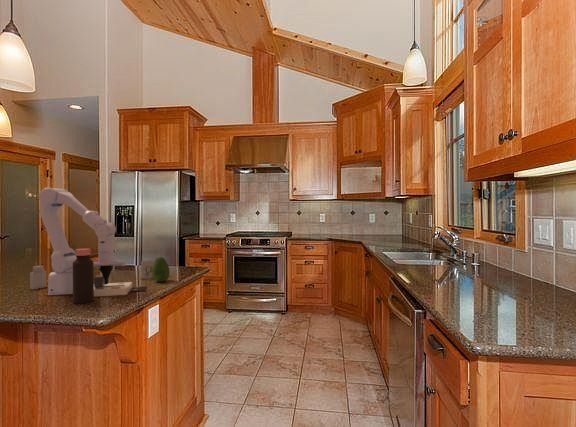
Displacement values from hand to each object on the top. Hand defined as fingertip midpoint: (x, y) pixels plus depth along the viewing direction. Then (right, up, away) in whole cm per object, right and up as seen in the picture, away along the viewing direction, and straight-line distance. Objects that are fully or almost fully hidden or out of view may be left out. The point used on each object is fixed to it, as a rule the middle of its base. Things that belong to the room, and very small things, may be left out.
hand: (106, 283), depth 138 cm
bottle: (-1, -4, -13) cm, 14 cm away
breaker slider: (-2, -1, -1) cm, 3 cm away
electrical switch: (+6, -3, +29) cm, 30 cm away
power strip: (+5, -4, +1) cm, 6 cm away
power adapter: (-34, -4, +7) cm, 35 cm away
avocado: (+15, -4, +20) cm, 25 cm away
